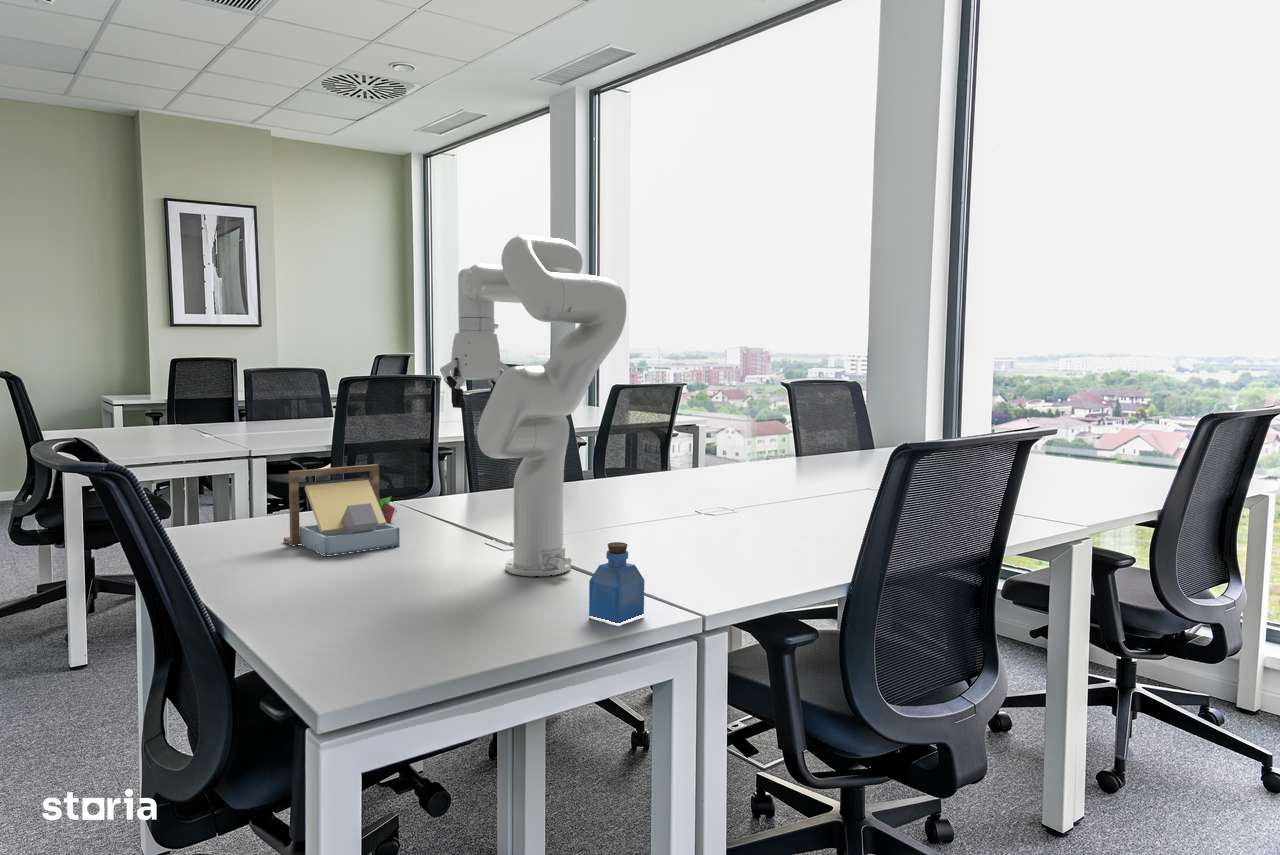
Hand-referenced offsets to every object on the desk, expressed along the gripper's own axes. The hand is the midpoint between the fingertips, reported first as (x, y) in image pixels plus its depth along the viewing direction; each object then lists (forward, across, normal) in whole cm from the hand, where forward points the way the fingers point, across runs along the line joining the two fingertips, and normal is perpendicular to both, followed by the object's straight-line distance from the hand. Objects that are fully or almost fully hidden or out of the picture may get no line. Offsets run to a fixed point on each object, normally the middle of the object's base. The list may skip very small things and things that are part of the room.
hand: (477, 406), depth 184 cm
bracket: (+30, +21, -25) cm, 44 cm away
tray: (+30, +22, -16) cm, 40 cm away
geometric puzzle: (+30, +5, -34) cm, 46 cm away
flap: (+22, +22, -18) cm, 36 cm away
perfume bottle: (+31, +13, +58) cm, 67 cm away
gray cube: (+26, +22, -13) cm, 36 cm away
